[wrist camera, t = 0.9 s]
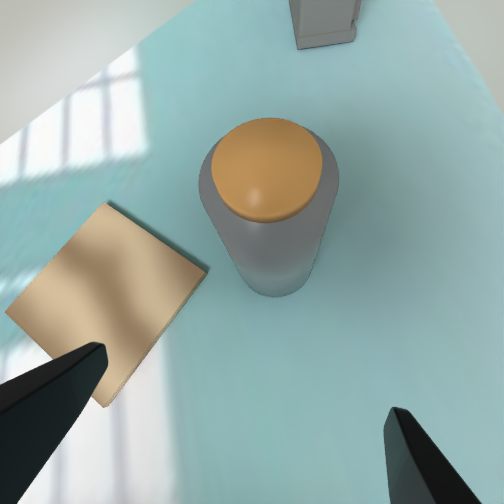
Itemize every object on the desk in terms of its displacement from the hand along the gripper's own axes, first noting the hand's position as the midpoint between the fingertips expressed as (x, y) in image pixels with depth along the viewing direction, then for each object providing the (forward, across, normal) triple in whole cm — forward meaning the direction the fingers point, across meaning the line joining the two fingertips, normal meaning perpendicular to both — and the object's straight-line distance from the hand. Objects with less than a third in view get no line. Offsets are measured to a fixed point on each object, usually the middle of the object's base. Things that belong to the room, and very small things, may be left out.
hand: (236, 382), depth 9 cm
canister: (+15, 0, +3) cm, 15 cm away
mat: (+12, +14, +7) cm, 19 cm away
